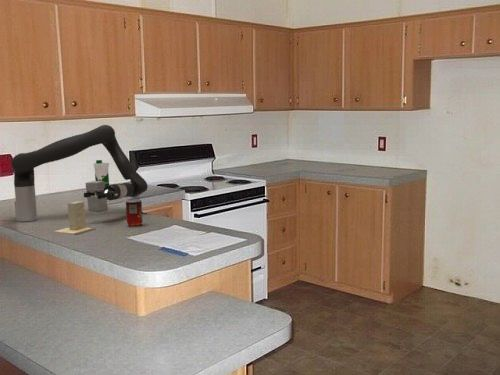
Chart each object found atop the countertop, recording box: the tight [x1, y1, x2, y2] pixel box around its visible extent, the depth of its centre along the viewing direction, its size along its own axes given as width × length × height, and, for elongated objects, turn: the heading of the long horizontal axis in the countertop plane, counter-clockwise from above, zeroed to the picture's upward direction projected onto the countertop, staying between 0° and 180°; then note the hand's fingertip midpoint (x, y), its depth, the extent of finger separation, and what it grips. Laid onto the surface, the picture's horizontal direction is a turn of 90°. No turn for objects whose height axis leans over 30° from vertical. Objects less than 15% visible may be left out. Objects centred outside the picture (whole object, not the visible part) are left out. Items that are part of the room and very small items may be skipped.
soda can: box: [125, 198, 143, 228], centre depth 242 cm, size 7×7×12 cm
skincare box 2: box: [84, 180, 109, 212], centre depth 284 cm, size 8×7×16 cm
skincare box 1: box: [67, 200, 87, 230], centre depth 236 cm, size 6×4×12 cm
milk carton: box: [93, 159, 110, 187], centre depth 369 cm, size 9×9×20 cm
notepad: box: [54, 227, 96, 235], centre depth 235 cm, size 14×11×1 cm
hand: (91, 195), depth 243 cm, fingers open, 8 cm apart
